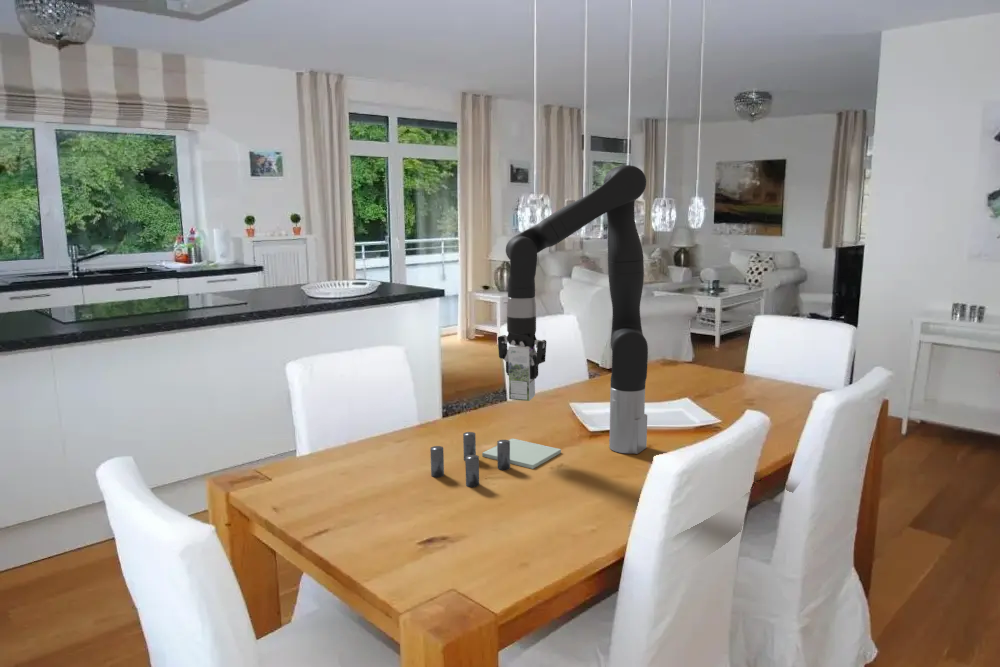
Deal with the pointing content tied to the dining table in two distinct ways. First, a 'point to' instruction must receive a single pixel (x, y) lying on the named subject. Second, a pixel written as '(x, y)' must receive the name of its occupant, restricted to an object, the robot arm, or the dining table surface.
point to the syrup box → (520, 373)
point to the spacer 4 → (503, 454)
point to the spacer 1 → (437, 461)
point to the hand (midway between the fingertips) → (521, 376)
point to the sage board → (525, 453)
